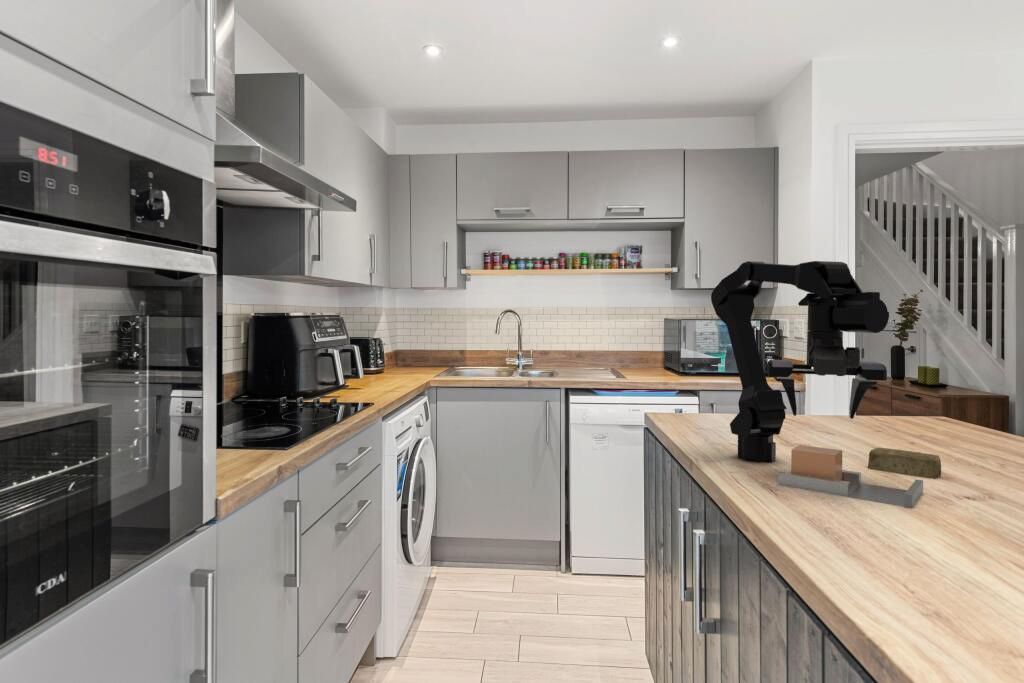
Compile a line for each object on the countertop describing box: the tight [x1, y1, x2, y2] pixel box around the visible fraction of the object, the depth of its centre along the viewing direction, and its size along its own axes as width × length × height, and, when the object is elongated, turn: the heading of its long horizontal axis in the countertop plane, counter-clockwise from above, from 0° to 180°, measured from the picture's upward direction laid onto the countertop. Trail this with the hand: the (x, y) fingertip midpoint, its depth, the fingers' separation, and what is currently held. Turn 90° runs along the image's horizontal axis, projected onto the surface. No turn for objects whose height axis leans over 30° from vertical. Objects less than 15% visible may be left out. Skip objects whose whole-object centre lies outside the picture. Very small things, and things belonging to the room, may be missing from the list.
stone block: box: [867, 447, 942, 480], centre depth 114 cm, size 6×12×5 cm, turn 44°
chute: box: [776, 469, 924, 509], centre depth 102 cm, size 20×11×3 cm, turn 48°
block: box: [790, 444, 843, 481], centre depth 106 cm, size 7×5×6 cm
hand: (822, 416), depth 108 cm, fingers open, 9 cm apart
